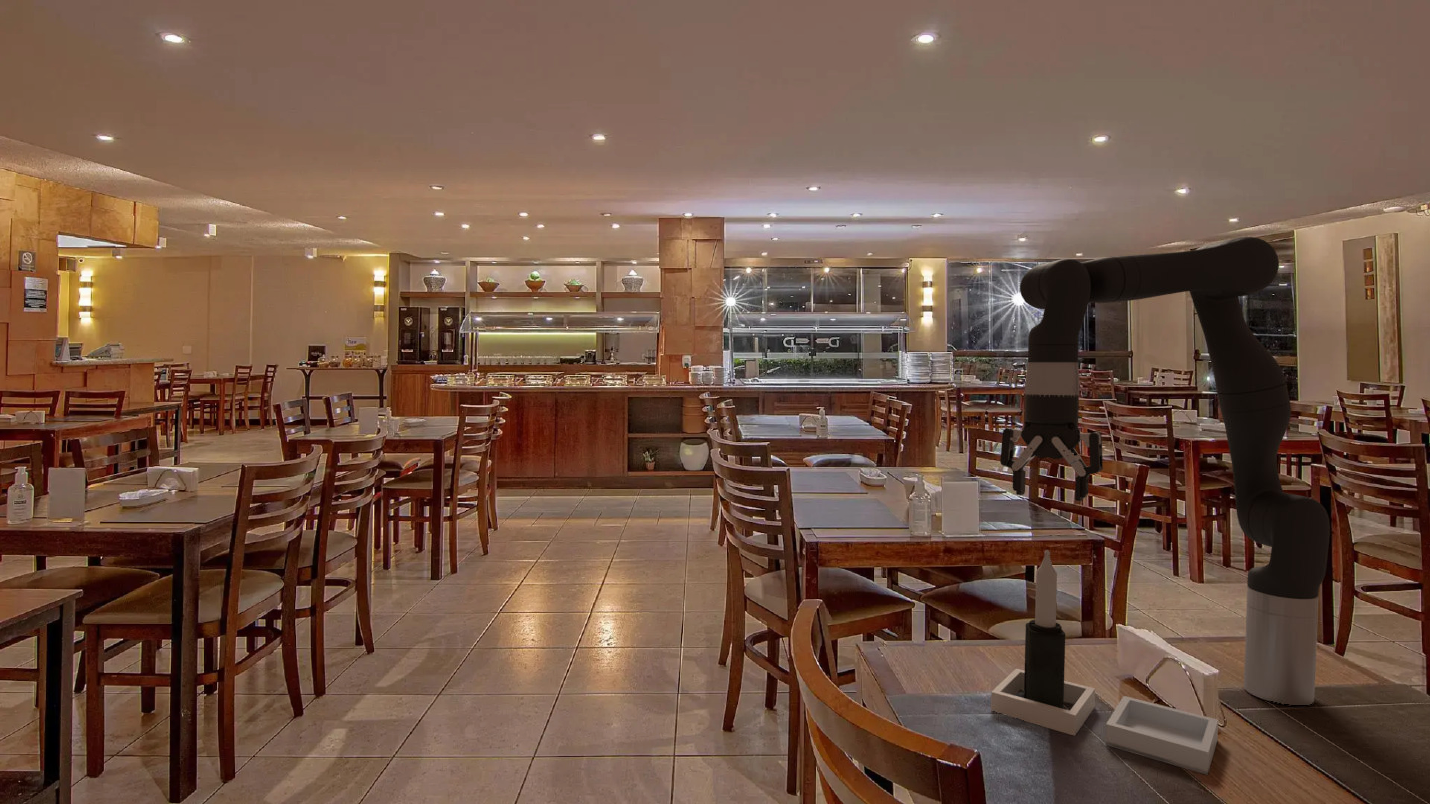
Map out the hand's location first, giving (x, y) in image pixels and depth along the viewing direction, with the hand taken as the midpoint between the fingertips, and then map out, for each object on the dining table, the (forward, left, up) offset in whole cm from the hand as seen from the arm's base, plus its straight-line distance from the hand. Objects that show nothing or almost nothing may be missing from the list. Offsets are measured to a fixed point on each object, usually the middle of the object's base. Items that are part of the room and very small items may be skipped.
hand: (1049, 497), depth 113 cm
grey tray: (0, +16, -33) cm, 37 cm away
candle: (0, 0, -33) cm, 33 cm away
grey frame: (0, 0, -33) cm, 33 cm away
